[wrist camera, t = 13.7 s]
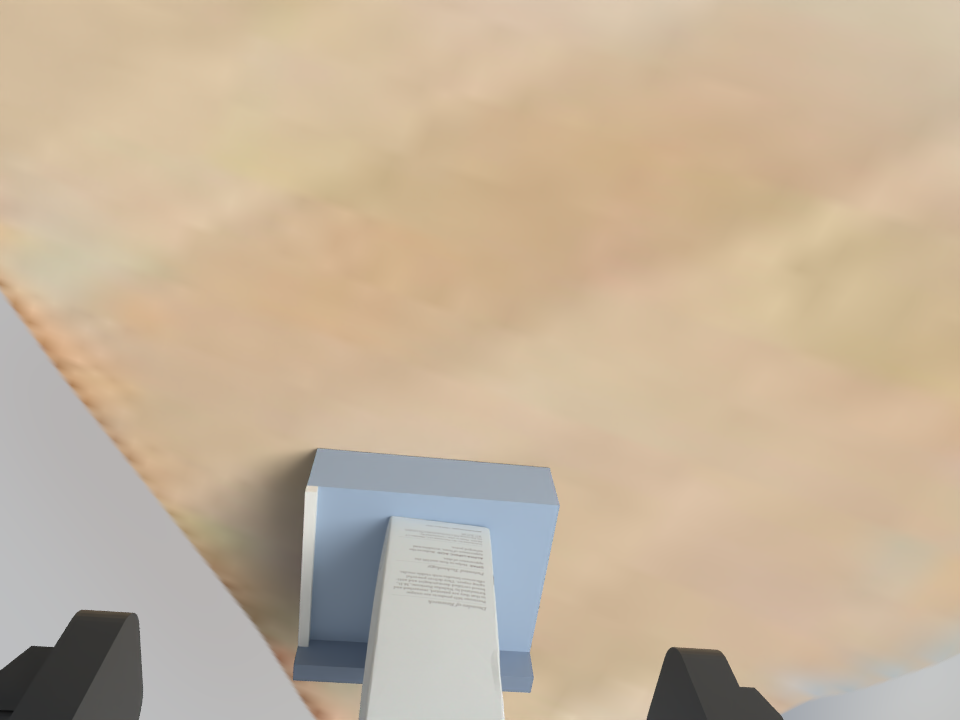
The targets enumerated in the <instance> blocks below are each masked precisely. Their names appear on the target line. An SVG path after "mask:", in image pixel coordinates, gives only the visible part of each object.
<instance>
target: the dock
mask: <svg viewBox="0 0 960 720" xmlns="http://www.w3.org/2000/svg"><path fill="white" fill-rule="evenodd" d="M559 506H560V505H559V501H558V497H557V494H556V490H555V486H554V483H553V479H552V475H551V472H550V468H544V467H532V466H520V465H509V464H497V463H485V462H473V461H461V460H450V459H438V458H426V457H414V456H402V455H390V454H379V453H367V452H355V451H343V450H331V449H320V448H318V449H317V452H316V456H315V459H314V463H313V466H312V470H311V473H310V477H309V480H308V484H307V487H306V490H305V506H304V527H303V548H302V570H301V591H300V612H299V633H298V648H297V652H296V657H295V661H294V670H293V680H299V681H318V682H337V683H356V684H363V677H364V669H365V661H366V654H367V646H368V638H369V631H370V623H371V616H372V609H373V601H374V595H375V588H376V582H377V575H378V569H379V564H380V558H381V553H382V548H383V543H384V539H385V534H386V530H387V526H388V522H389V519H390V517H391V516H399V517H407V518H416V519H424V520H432V521H440V522H448V523H456V524H464V525H472V526H480V527H486V528H488V529H489V531H490V539H491V550H492V565H493V576H494V589H495V600H496V614H497V625H498V639H499V658H500V676H501V686H502V691H508V692H528V693H530V692H531V688H532V683H533V678H534V677H533V670H532V664H531V658H530V648H531V643H532V638H533V633H534V628H535V624H536V619H537V614H538V609H539V604H540V599H541V594H542V589H543V584H544V580H545V575H546V570H547V565H548V560H549V555H550V550H551V545H552V541H553V536H554V531H555V526H556V521H557V516H558V511H559Z"/></svg>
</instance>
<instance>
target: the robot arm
mask: <svg viewBox="0 0 960 720" xmlns="http://www.w3.org/2000/svg"><path fill="white" fill-rule="evenodd" d="M140 648H141V647H140V631H139V620H138V617H137V615H136V614H135V613H126V612H110V611H94V610H80V611H79V612H77V613H76V614H75V616H74V617H73V618H72V620H71V621H70V623H69V624H68V626H67V627H66V629H65V631H64V632H63V634H62V635H61V637H60V639H59V640H58V642H57V643H56V645H55V647H41V646H31V647H30V648H29V649H27V650H26V651H24V653H22V654H21V655H19V656H18V657H17V658H16V659H14V660H13V661H12V662H11V663H9V664H8V665H7V666H6V667H4V668H3V669H2V670H0V720H139V716H140V711H141V706H142V698H143V681H142V664H141V649H140ZM647 720H783V718H782V716H781V715H780V714H779V713H778V712H777V711H776V710H775V709H774V708H773V707H772V706H771V705H770V704H769V702H768V701H767V700H766V699H765V698H764V697H763V696H762V695H761V694H760V693H759V692H758V691H757V690H756V689H755V688H749V687H739V685H738V683H737V680H736V678H735V676H734V674H733V672H732V670H731V668H730V666H729V664H728V661H727V660H726V658H725V656H724V655H723V653H722V652H720V651H719V650H711V649H694V648H677V647H672V648H670V649H669V650H668V651H667V653H666V656H665V659H664V662H663V665H662V669H661V672H660V675H659V679H658V682H657V686H656V689H655V692H654V696H653V699H652V702H651V706H650V709H649V712H648V716H647Z"/></svg>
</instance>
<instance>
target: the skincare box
mask: <svg viewBox="0 0 960 720" xmlns="http://www.w3.org/2000/svg"><path fill="white" fill-rule="evenodd" d="M359 720H505V718H504V705H503V695H502V686H501V676H500V658H499V639H498V625H497V614H496V600H495V589H494V576H493V565H492V550H491V539H490V531H489V529H488V528H486V527H480V526H472V525H464V524H456V523H448V522H440V521H432V520H424V519H416V518H407V517H399V516H391V517H390V519H389V522H388V526H387V530H386V534H385V539H384V543H383V548H382V553H381V558H380V564H379V569H378V575H377V582H376V588H375V595H374V601H373V609H372V616H371V623H370V631H369V638H368V646H367V654H366V661H365V669H364V677H363V685H362V694H361V703H360V713H359Z"/></svg>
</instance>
